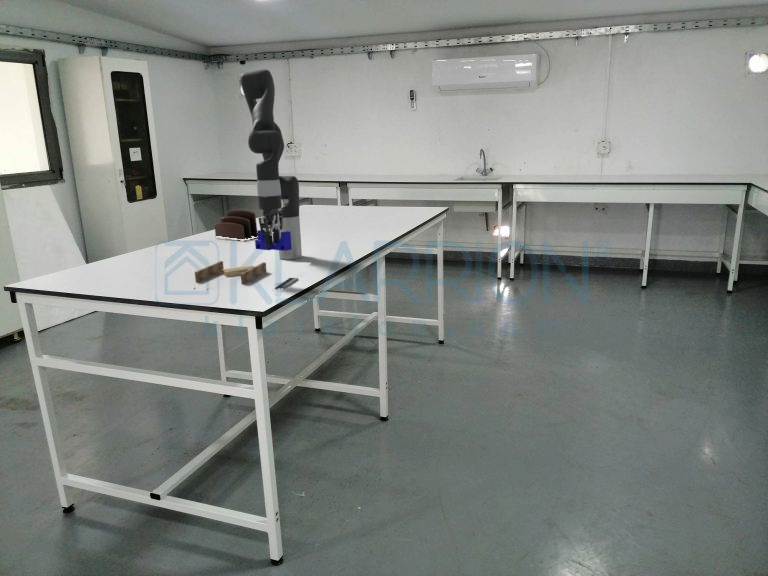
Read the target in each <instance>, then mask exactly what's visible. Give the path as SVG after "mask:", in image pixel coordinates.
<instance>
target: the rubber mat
mask: <svg viewBox="0 0 768 576" xmlns="http://www.w3.org/2000/svg"><path fill="white" fill-rule="evenodd" d="M297 281H299V278H298V277H289V278H287V279H286V280H285V281H283V282H281V283H280V284H278V285H277V286H276V287H275V289H279V288H283V289H286V288H288V287H289V286H291V285H292V284H294V283H296V282H297Z"/></svg>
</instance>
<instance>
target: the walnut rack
mask: <svg viewBox="0 0 768 576" xmlns="http://www.w3.org/2000/svg"><path fill="white" fill-rule="evenodd" d="M222 269H225V268H224V261H223V260H219V261H217V262H214V263H213V264H212V263H211V264H210V265H208V266H206V267H203V268H200V269H198V270H196V271H194V277H195V283H200V282H202V281H205V280H207V279H209V278H211V277H213V276H215V275H218V274H219V273H220V274H221V273H222ZM267 272H268V271H267V263H266V262H261V263H259V264H258V265H254V267H253V268H251V269H249V270H247V271H245V272H243V273H241V275H240V281H241V283H240V284H241V285H246V284H247V283H249V282H252V281H253V280H255V279H257V278H259V277H261V276H263V275H264V274H266V273H267Z"/></svg>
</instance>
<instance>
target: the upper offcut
mask: <svg viewBox="0 0 768 576" xmlns="http://www.w3.org/2000/svg"><path fill="white" fill-rule="evenodd" d="M253 267H255V265H252V264H251V265H245V266H244V265H243V266H236V267H228V268H224V269H222V272H221V273H222V275H223V276H225V277H234V276H241V273H243V272H245V271H247V270H249V269H251V268H253Z"/></svg>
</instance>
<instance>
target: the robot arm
mask: <svg viewBox="0 0 768 576" xmlns="http://www.w3.org/2000/svg"><path fill="white" fill-rule="evenodd" d="M240 84H241V88H242V93H243V95H244V98H245V101H246V104H247V107H248V109H249V112H250V116H251V118H252V119H251V121H252V122H251V123H252V128H251V130H250V132H249V135H248V138H247V140H248V143H247V145H248V148H249V150H250V151H251V152H252V153H254V154H262V155H261V156H262V159H263V160H262V161H261V160H260V161H258V162H257V163H256V165H255V166H256V167H255V169H256V182H257V185H256V188H257V191H256V192H257V193H256V194H257V201H258V202H257V204H258V209H259V210H263V211H262V216H259V217H258V224H259V227H260V229H259V230H261V234H262V235H264V236H265V238H266V247H273V242H274V243H278V242H279V240H280V237H281V232H286V231H290V232H291V246H292V249H291V250H287V251H281V250H278V253H279V259H280V260H288V261H289V260H296V259H301V258H302V257H303V255H302V254H303V252H302V237H301V236H302V235H301V222H300V220H301V219H300V184H299V180H298V178H297V177H296V176H294V175H280V173H279V163H280V161H281V158H282V155H283V153H284V149H285V141H284V138H283V134H282V130H281V128H280V126H279V125H278V124H277V123H276V122H275V118H274V105H275V96H276V94H275V91H276V89H275V82H274V79H273V75H272V73H271V71H270V70H269V69H259V70H252V71H246V72H243V73H241V75H240ZM258 99H259V100H258ZM257 100H258V101H257ZM282 200H288V201H287V204H285V206H283V205H282V204H283V203H282Z"/></svg>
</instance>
